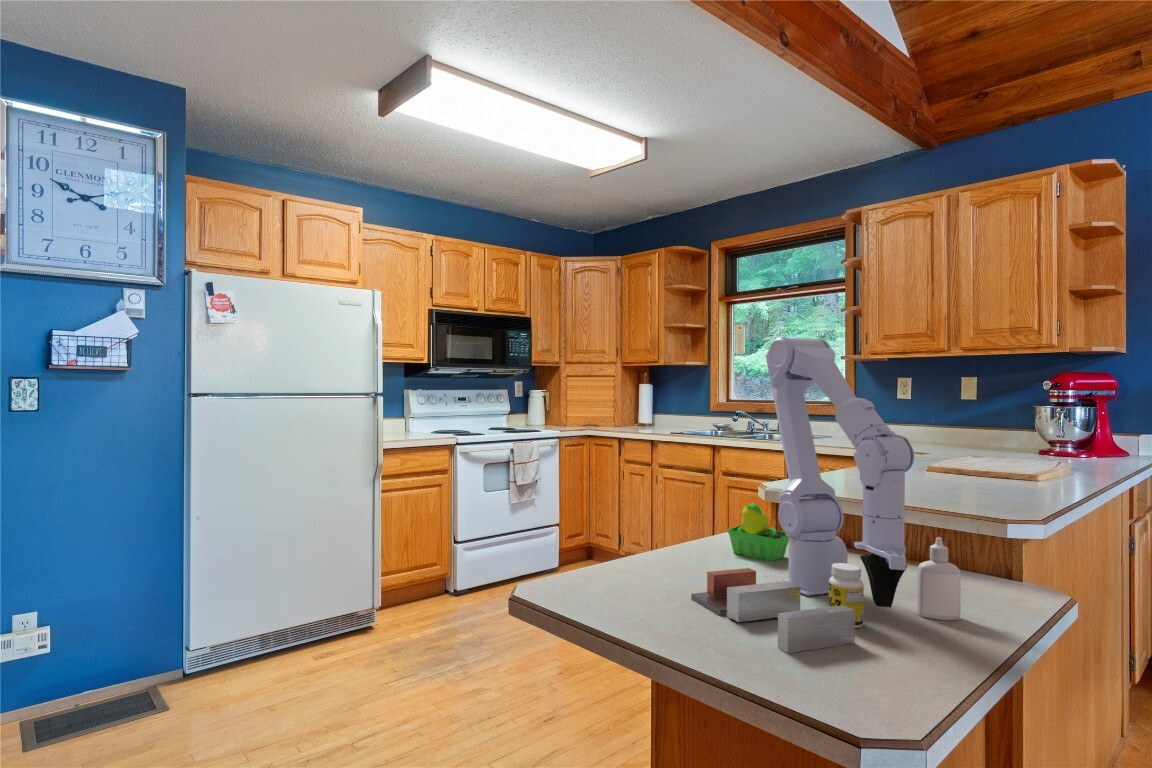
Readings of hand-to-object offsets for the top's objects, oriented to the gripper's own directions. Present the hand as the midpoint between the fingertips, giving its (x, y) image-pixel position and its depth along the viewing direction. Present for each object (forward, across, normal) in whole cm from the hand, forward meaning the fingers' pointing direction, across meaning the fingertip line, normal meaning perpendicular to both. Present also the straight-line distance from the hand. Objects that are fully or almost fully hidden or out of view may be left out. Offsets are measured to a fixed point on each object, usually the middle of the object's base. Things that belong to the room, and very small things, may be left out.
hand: (882, 605), depth 97 cm
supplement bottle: (+2, +4, -6) cm, 7 cm away
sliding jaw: (+2, 0, -20) cm, 20 cm away
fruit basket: (+2, -35, -15) cm, 38 cm away
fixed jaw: (+2, +13, -12) cm, 18 cm away
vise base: (+2, -3, -21) cm, 21 cm away
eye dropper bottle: (+2, -3, +9) cm, 9 cm away
